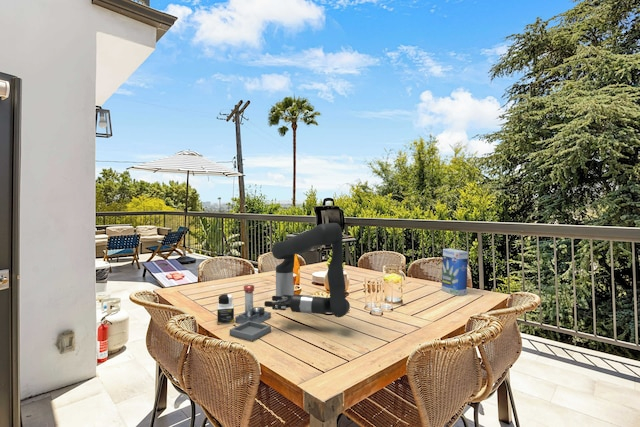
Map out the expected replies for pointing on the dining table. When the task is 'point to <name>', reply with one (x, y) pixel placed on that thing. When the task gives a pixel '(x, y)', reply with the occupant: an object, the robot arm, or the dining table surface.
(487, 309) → the dining table surface
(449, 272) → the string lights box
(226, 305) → the medicine bottle
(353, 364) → the dining table surface
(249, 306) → the pin
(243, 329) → the tray
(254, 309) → the tensioner block
